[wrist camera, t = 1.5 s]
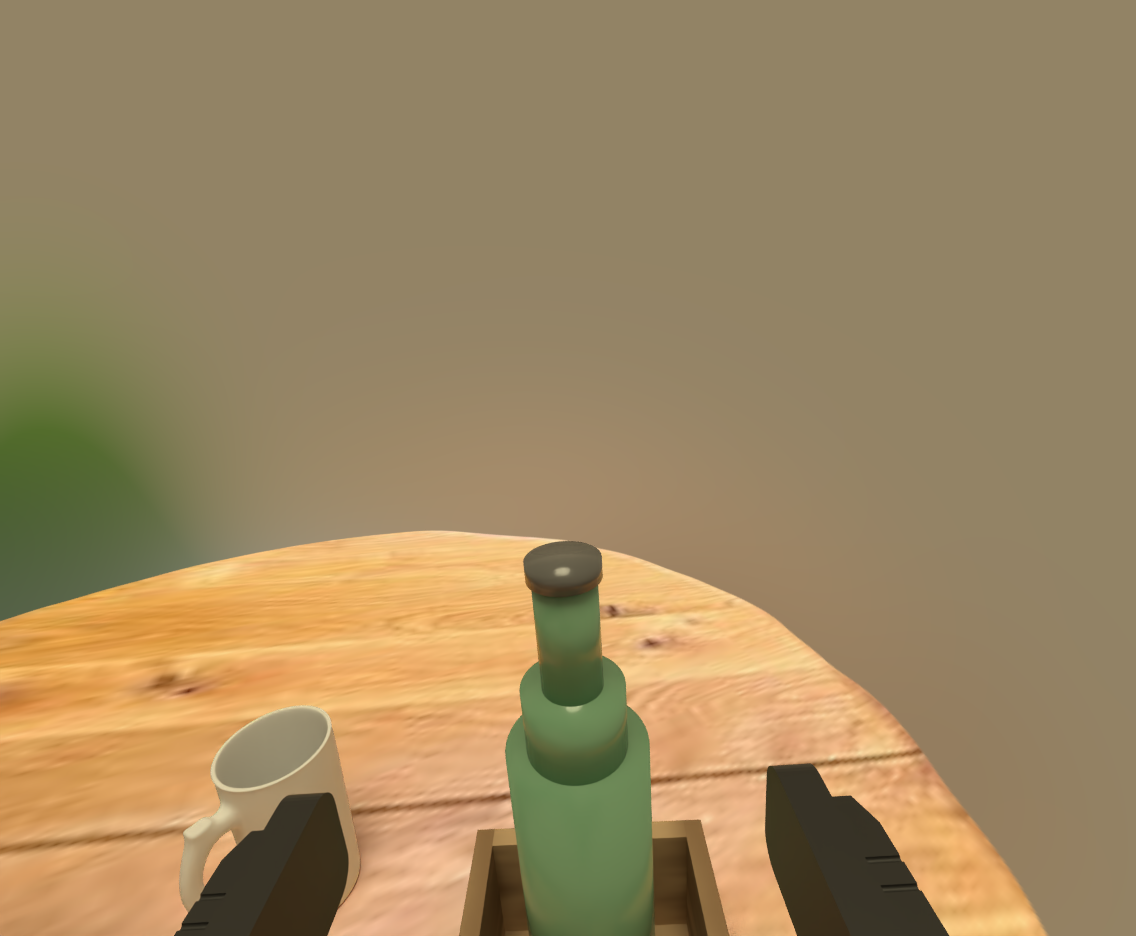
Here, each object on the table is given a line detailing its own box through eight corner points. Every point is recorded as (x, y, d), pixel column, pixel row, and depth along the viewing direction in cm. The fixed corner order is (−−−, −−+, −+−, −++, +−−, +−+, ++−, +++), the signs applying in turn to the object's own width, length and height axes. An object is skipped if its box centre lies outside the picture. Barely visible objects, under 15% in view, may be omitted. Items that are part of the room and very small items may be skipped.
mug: (321, 822, 41) (286, 694, 38) (385, 856, 38) (354, 721, 35) (185, 961, 33) (123, 814, 29) (253, 1020, 30) (194, 863, 26)
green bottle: (516, 1024, 28) (447, 569, 20) (588, 921, 33) (555, 515, 25) (611, 1135, 24) (572, 623, 16) (679, 1000, 29) (674, 546, 21)
